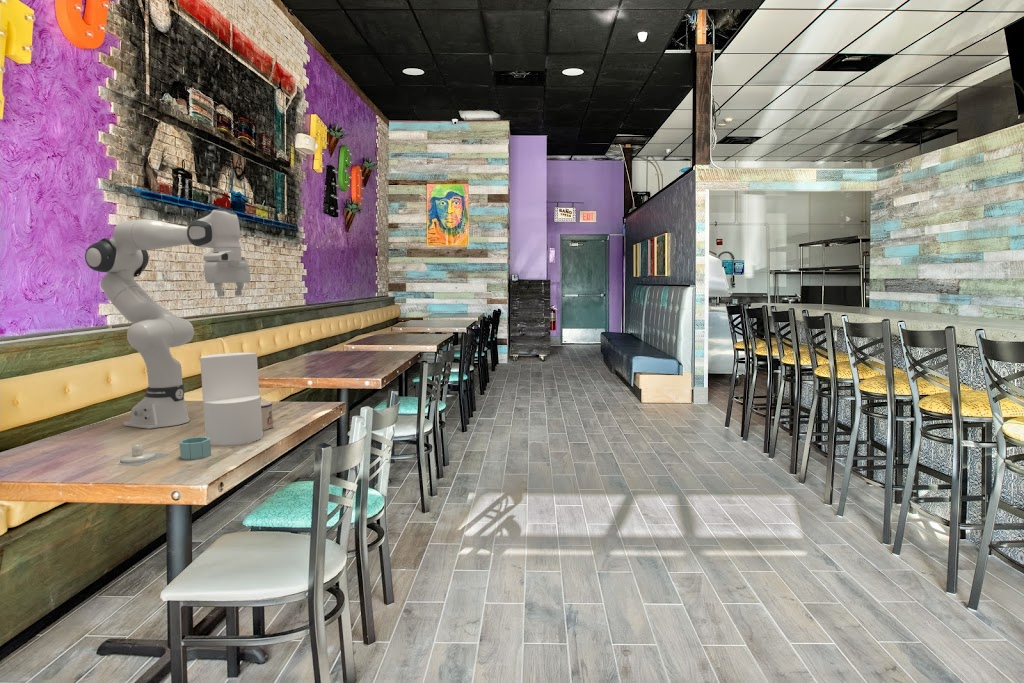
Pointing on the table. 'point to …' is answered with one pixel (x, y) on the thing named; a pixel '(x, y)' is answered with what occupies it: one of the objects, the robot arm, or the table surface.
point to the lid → (137, 455)
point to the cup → (195, 448)
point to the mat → (157, 456)
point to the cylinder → (231, 398)
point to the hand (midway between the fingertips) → (229, 296)
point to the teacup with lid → (266, 414)
